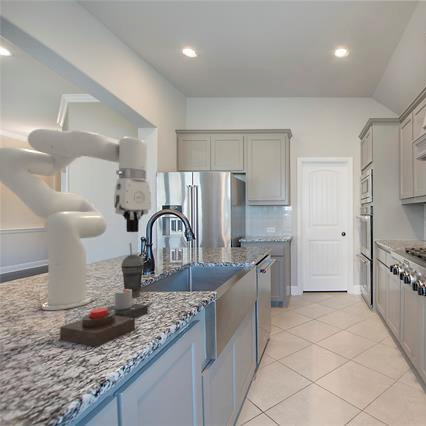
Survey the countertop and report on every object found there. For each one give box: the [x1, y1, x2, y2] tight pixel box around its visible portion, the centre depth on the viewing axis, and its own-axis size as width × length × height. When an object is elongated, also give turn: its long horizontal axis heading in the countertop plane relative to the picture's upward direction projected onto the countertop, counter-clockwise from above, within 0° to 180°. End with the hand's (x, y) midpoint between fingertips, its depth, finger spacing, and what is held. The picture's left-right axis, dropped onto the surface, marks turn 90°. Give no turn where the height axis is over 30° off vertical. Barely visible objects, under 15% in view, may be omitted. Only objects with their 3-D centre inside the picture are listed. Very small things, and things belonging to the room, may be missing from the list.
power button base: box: [59, 311, 136, 348], centre depth 72 cm, size 12×10×5 cm
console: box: [106, 302, 149, 319], centre depth 86 cm, size 10×8×3 cm
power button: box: [89, 307, 108, 318], centre depth 72 cm, size 4×4×2 cm
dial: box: [114, 288, 133, 310], centre depth 86 cm, size 4×4×5 cm
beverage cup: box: [120, 242, 145, 299], centre depth 106 cm, size 7×7×20 cm
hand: (132, 231), depth 93 cm, fingers closed
